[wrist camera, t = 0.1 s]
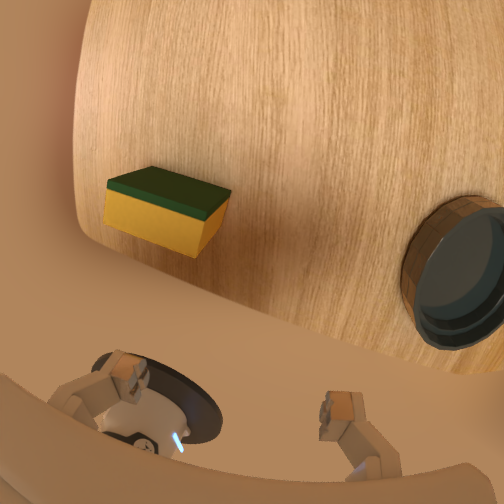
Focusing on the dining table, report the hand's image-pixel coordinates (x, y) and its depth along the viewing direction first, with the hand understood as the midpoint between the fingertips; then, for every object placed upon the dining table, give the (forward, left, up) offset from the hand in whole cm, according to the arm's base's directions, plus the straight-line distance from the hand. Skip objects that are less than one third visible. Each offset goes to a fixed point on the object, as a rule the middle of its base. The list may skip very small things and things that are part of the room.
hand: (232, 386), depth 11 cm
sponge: (-4, +9, -19) cm, 21 cm away
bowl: (+14, -18, -19) cm, 30 cm away
